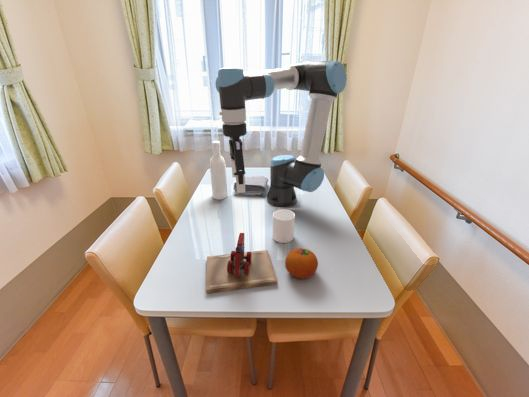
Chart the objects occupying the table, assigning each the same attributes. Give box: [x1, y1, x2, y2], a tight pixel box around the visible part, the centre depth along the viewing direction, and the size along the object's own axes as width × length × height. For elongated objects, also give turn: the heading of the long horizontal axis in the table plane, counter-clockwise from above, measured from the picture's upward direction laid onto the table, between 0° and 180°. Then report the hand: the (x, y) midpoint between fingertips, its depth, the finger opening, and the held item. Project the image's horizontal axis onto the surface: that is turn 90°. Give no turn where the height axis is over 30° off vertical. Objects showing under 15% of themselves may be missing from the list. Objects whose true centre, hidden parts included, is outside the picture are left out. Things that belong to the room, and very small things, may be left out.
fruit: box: [284, 247, 319, 280], centre depth 87 cm, size 11×10×8 cm
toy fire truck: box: [227, 232, 252, 276], centre depth 87 cm, size 7×12×10 cm, turn 175°
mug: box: [272, 208, 296, 244], centre depth 107 cm, size 9×12×11 cm
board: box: [205, 249, 278, 294], centre depth 89 cm, size 22×16×2 cm
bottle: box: [209, 140, 229, 200], centre depth 134 cm, size 8×8×30 cm
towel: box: [232, 175, 269, 197], centre depth 146 cm, size 15×18×8 cm
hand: (238, 184), depth 93 cm, fingers open, 13 cm apart
